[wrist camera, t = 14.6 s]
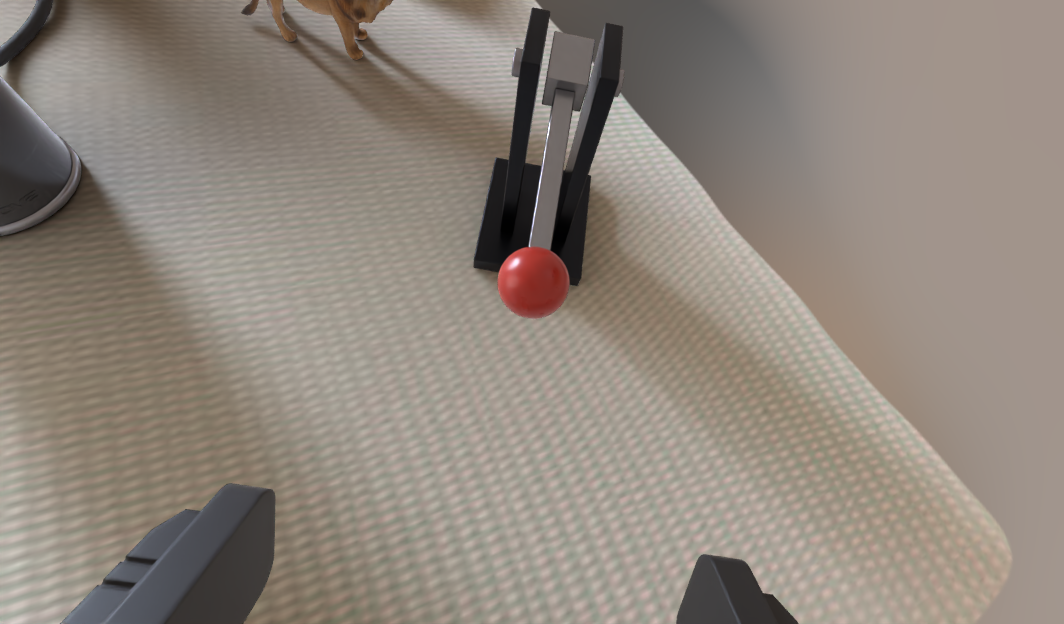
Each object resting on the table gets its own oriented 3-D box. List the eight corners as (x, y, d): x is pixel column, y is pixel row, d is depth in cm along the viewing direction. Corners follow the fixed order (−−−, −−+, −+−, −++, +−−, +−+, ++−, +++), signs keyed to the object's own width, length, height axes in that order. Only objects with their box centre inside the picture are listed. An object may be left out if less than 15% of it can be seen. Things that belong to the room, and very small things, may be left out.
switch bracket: (577, 286, 38) (647, 127, 24) (473, 267, 37) (480, 94, 23) (587, 184, 42) (651, -1, 28) (494, 167, 42) (512, -30, 28)
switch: (558, 329, 26) (569, 317, 23) (491, 317, 26) (492, 304, 23) (596, 78, 29) (610, 33, 26) (536, 65, 29) (543, 19, 26)
